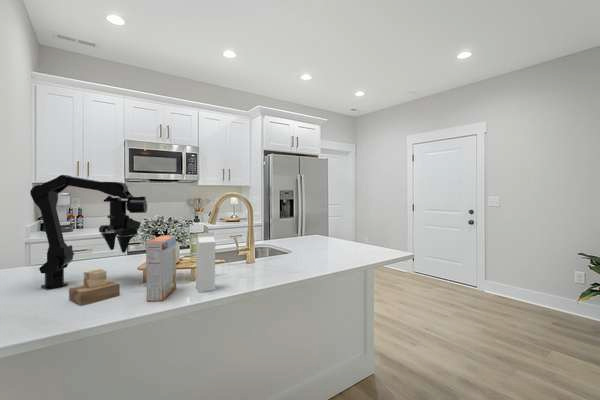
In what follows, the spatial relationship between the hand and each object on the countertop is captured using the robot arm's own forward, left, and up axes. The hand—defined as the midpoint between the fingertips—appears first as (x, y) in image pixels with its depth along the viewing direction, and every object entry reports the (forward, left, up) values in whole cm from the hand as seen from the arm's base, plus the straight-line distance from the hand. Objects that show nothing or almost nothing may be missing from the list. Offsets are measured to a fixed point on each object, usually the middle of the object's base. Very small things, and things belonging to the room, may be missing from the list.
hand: (117, 251), depth 120 cm
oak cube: (+11, -13, -9) cm, 19 cm away
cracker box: (+27, +2, -13) cm, 30 cm away
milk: (+35, +15, -13) cm, 40 cm away
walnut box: (+11, -13, -13) cm, 21 cm away
